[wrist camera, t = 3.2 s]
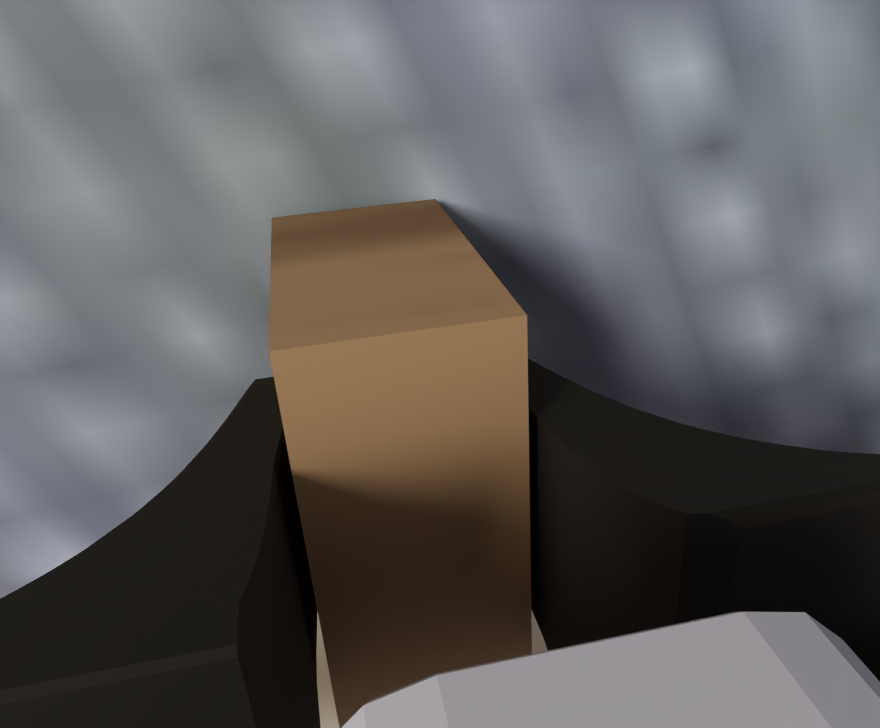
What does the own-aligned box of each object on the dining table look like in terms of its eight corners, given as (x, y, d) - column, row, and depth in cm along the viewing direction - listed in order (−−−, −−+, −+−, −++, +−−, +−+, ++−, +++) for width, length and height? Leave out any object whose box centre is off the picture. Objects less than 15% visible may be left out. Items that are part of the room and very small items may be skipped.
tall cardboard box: (159, 231, 11) (86, 376, 7) (536, 187, 12) (682, 293, 8) (284, 749, 17) (286, 1015, 12) (540, 693, 18) (627, 925, 13)
